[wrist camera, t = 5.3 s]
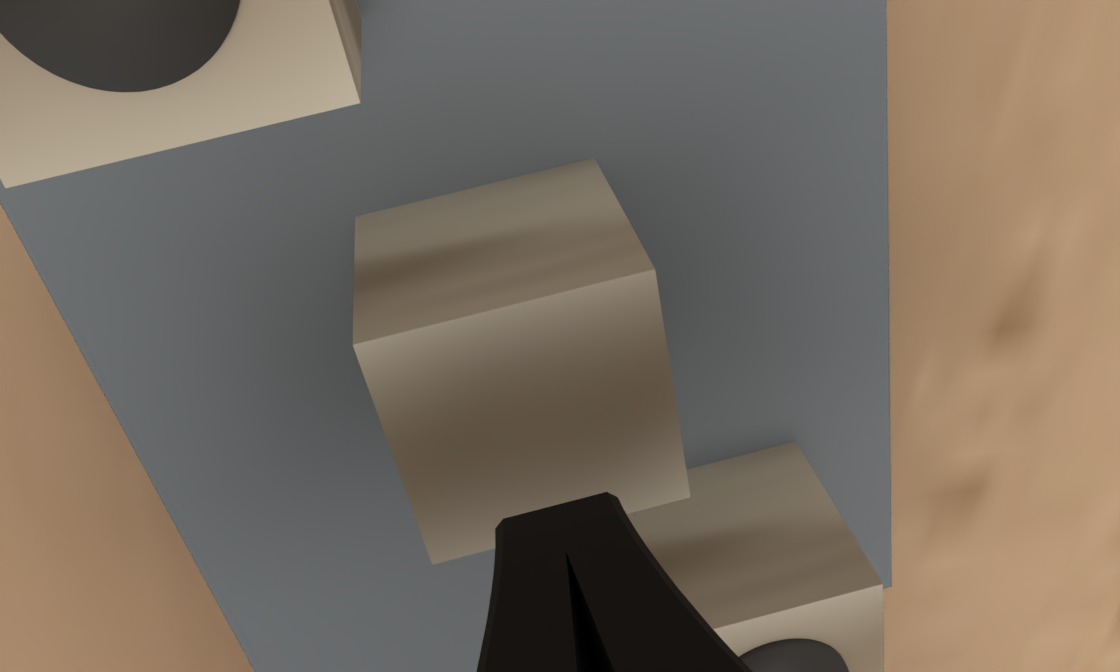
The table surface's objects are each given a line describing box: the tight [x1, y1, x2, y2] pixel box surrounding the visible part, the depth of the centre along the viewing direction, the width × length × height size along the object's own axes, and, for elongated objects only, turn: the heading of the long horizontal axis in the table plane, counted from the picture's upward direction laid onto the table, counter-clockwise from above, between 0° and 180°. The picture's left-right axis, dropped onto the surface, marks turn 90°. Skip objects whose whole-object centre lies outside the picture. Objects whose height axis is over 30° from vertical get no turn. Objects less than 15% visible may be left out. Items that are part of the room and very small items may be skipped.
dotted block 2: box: [627, 441, 884, 672], centre depth 19 cm, size 4×4×4 cm
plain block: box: [353, 158, 690, 565], centre depth 16 cm, size 4×4×4 cm
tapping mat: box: [0, 0, 892, 672], centre depth 18 cm, size 20×14×1 cm
